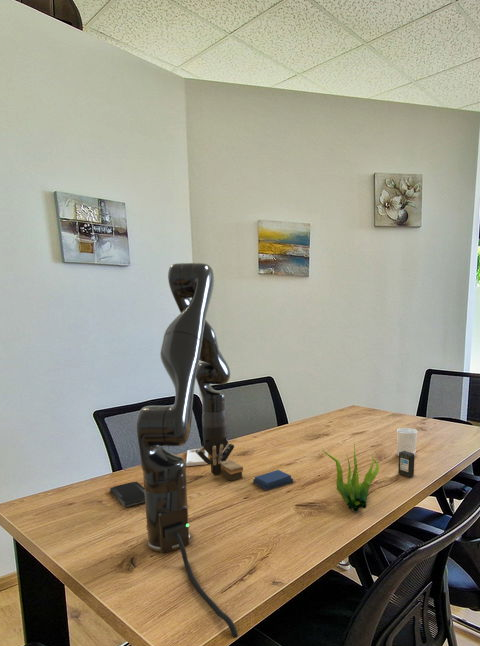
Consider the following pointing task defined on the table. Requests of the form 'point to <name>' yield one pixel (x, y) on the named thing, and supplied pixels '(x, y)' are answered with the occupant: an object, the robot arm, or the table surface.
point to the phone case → (195, 458)
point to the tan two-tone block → (231, 470)
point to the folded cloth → (272, 479)
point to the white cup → (406, 440)
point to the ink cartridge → (406, 463)
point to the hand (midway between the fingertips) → (216, 474)
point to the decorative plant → (354, 484)
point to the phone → (129, 494)
